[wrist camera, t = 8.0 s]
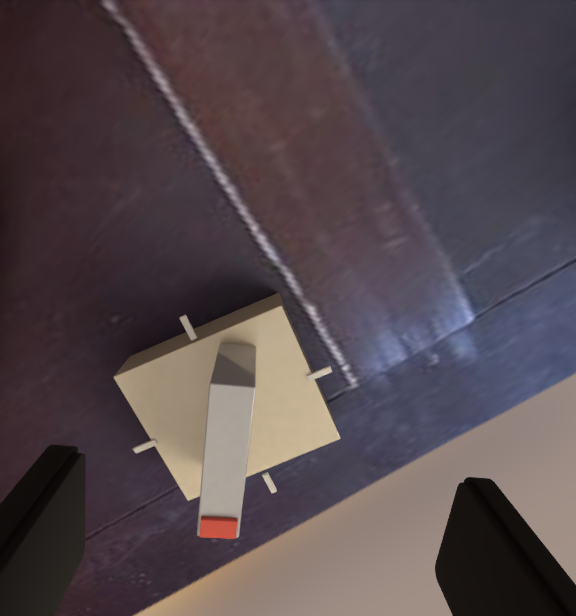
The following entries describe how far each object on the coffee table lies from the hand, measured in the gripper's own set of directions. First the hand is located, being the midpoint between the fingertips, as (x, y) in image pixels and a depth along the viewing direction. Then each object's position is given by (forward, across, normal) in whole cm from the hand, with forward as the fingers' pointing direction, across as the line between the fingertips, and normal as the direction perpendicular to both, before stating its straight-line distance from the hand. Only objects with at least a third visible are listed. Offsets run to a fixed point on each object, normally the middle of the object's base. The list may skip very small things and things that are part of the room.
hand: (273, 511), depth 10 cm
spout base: (+16, +2, +5) cm, 17 cm away
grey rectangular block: (+13, +1, +5) cm, 14 cm away
